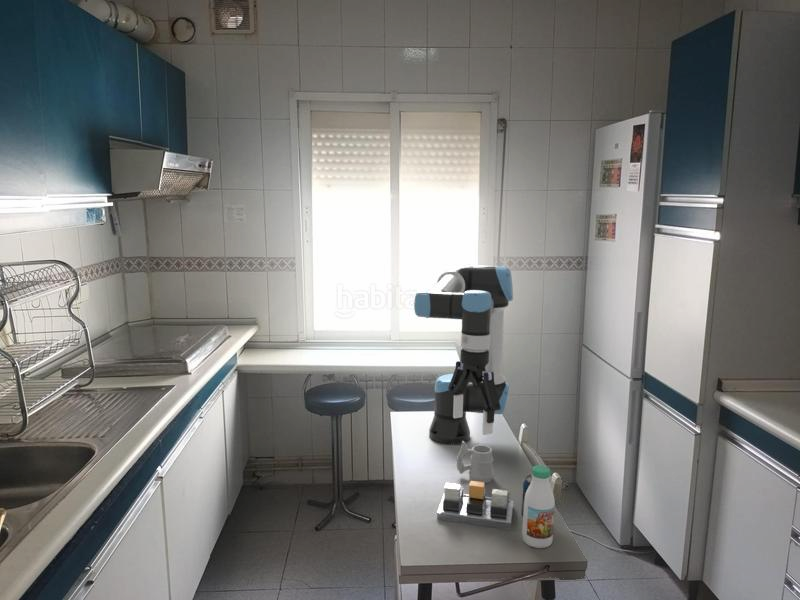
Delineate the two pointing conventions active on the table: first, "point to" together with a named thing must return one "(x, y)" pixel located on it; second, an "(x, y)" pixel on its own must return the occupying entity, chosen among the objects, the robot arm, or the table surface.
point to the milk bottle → (539, 510)
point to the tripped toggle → (476, 489)
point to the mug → (477, 462)
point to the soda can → (525, 489)
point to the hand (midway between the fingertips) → (472, 425)
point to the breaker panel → (476, 520)
